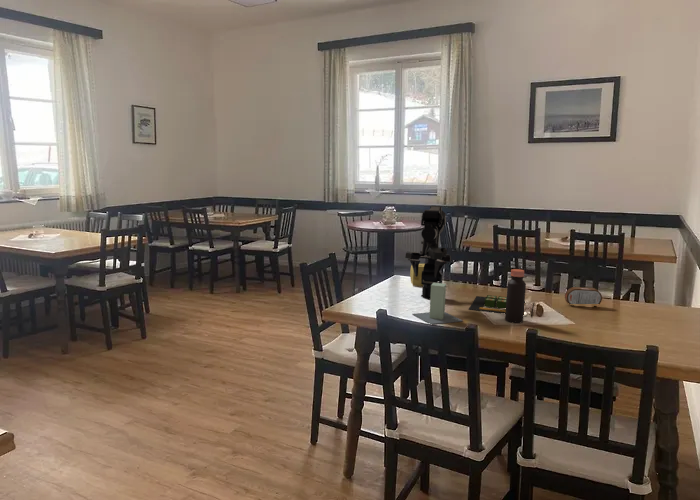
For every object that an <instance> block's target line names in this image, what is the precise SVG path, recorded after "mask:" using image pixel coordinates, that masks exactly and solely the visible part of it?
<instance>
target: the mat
mask: <svg viewBox="0 0 700 500" xmlns="http://www.w3.org/2000/svg"><path fill="white" fill-rule="evenodd" d="M412 316H414V317H416V318H418V319H419V320H421V321H423V322H425V323H427V324H429V323H430V324H429V325H431V324H434V325H440V324H441V325H443V324H449V323H461V322H463V320H462V319H461V318H458V317H457V316H454V315H452V314H450V313H448V312H446V311H445V314H444V317H443V319H434V318H429V316H430V311H429V312H416V313H412Z"/></svg>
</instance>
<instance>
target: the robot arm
mask: <svg viewBox="0 0 700 500" xmlns="http://www.w3.org/2000/svg"><path fill="white" fill-rule="evenodd" d="M442 209H443V208H442V206H441V205H431V206H430V207H429V209H424V212H422V214H421V215H422V216H421V224H420V226H422V227H423V226H424V228H423V229H422V230H421V237H422V239H423V240H422V241H421V242H420V243H421V245H422V246H421V247H422V248H421V250H420V252H417V251H407V252H405V259H407V261H410V264H411V265H412V267H413V270H414V273H415V276H416V277H417V276H418V268H419V264H421V260H420V259H427V262H426V263H424V264H425V265H424V269H423V271H422V276H421V284H423V286H422V287H421V288H422V291H421V295H420V297H422V298H424V299H425V300H426V299H427V300H430V296H431V285H432V284H433V283H443V275H442V272H441V270H442V268H443V267H444V266H445V264H448V262H451V260H452V257H451V255H450V254H448V249H447V248H446V247H440V248H439V245H440V234H442V233H443V231H444V227H445V226H446V223H447V221H446V220H447V219H446V218H447V216H446V215H447V214H446V212H444V210H442Z"/></svg>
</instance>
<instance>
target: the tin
mask: <svg viewBox="0 0 700 500" xmlns="http://www.w3.org/2000/svg"><path fill="white" fill-rule="evenodd" d="M564 299H565V302H566V303H567V304H568V303H569V304H568V305H570V304H599V305H601V303H602V300H603V296H602V292H600V291H599V289H597V288H595V287H584V286H582V287H581V286H580V287H579V286H573V287H569V288H568V289H567V290H566V291H565V294H564Z"/></svg>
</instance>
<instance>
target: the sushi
mask: <svg viewBox="0 0 700 500" xmlns="http://www.w3.org/2000/svg"><path fill="white" fill-rule="evenodd" d="M506 298H507V296H501V295H500V296H497V295H489V294H488V295H486V296H480V295H479V296H478V295H477V296H475V298H474V300H473V301H472V303H471V304H470V306H469V308H468V309H467V310H468V311H476V312H485V313H492V312H494V314H501V313H505V312H506V309H500V308H506ZM495 304H496V305H495ZM484 306H486V307H484ZM492 307H494V308H492ZM496 307H498V308H496Z"/></svg>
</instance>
